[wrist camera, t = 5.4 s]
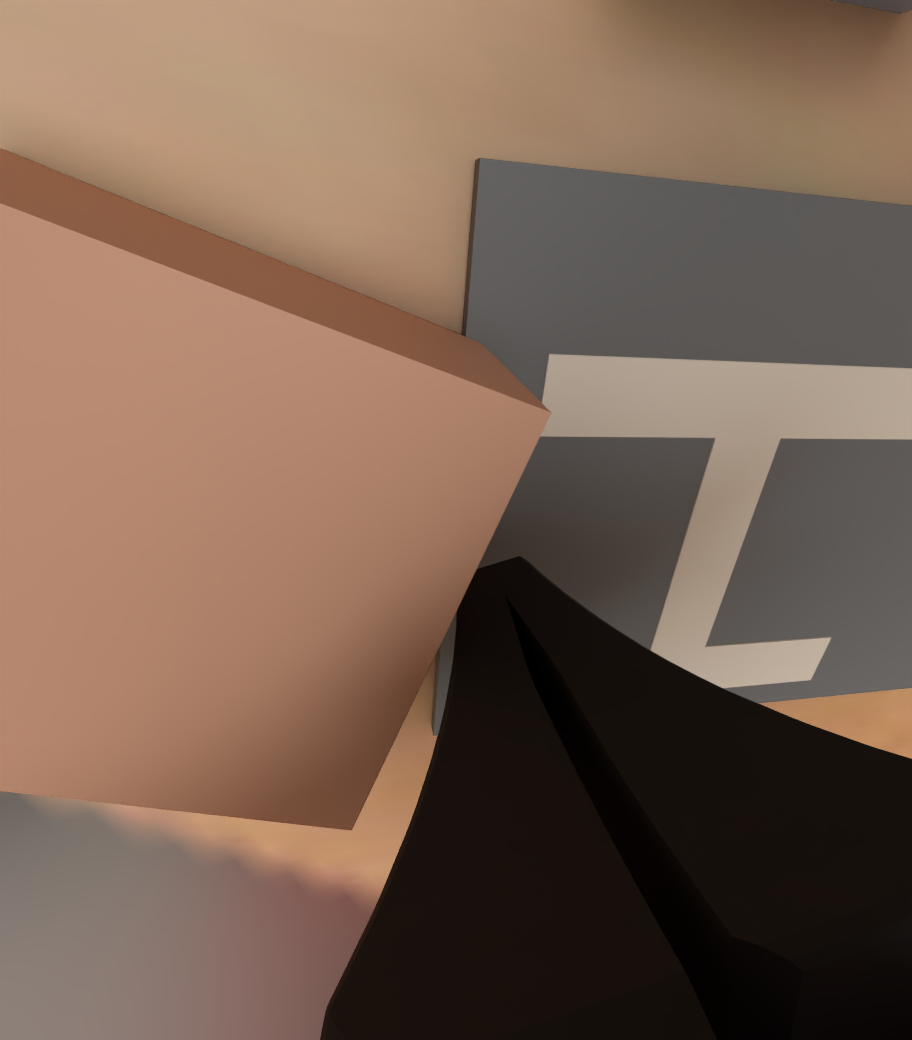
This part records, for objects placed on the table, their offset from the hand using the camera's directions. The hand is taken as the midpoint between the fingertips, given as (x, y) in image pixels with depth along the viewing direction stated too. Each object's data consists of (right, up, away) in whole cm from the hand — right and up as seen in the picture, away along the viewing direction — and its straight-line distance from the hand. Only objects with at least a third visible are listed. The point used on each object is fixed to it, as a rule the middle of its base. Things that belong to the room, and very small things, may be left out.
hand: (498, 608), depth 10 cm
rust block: (-5, +3, 0) cm, 6 cm away
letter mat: (+8, +2, +3) cm, 9 cm away
